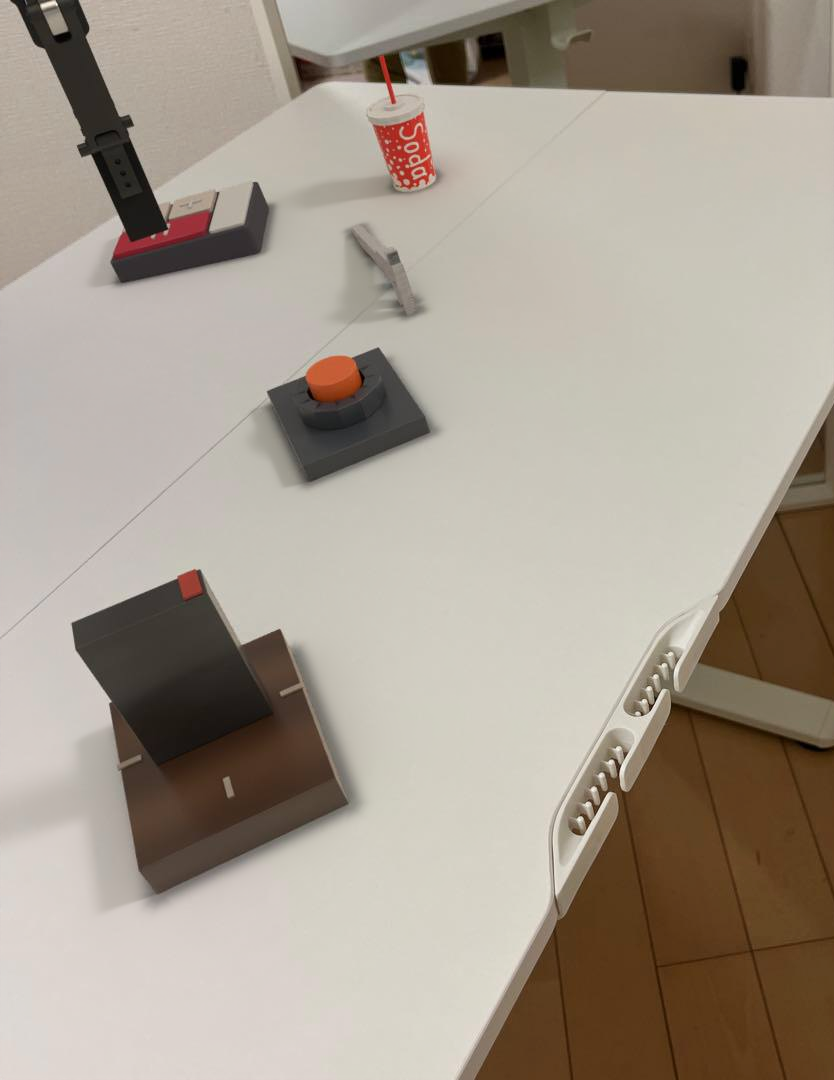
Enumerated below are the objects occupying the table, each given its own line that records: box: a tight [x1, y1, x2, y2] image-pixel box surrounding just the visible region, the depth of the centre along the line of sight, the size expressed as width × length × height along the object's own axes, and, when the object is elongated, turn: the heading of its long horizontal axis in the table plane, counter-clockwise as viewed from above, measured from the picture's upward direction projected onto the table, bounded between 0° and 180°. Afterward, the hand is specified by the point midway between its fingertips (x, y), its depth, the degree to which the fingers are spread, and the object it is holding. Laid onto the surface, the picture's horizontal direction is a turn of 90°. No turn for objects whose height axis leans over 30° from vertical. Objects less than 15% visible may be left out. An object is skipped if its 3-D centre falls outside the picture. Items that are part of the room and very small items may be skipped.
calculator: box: [110, 180, 270, 284], centre depth 117 cm, size 11×4×15 cm
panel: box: [108, 628, 350, 895], centre depth 64 cm, size 13×11×3 cm
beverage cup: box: [365, 54, 437, 193], centre depth 115 cm, size 6×6×14 cm
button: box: [305, 355, 362, 403], centre depth 86 cm, size 4×4×2 cm
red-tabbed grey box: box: [71, 568, 273, 765], centre depth 60 cm, size 7×2×10 cm, turn 114°
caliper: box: [351, 224, 418, 316], centre depth 105 cm, size 20×1×6 cm, turn 22°
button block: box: [266, 347, 431, 483], centre depth 88 cm, size 12×10×4 cm
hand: (148, 231), depth 77 cm, fingers closed
